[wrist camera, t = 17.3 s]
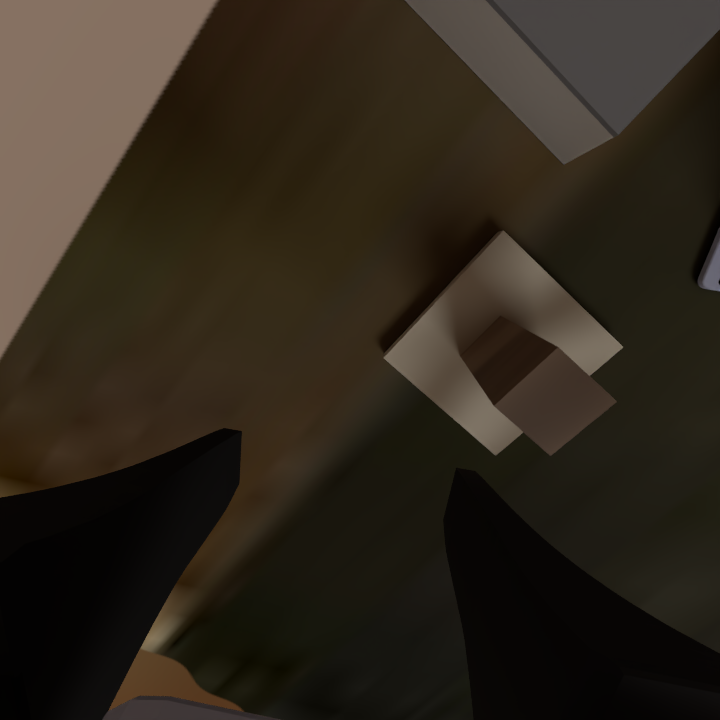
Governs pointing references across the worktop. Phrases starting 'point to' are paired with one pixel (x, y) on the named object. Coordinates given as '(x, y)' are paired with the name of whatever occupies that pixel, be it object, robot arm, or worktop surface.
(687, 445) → the worktop surface
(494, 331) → the brown rectangular block
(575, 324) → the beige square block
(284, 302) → the worktop surface
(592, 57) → the switch box
